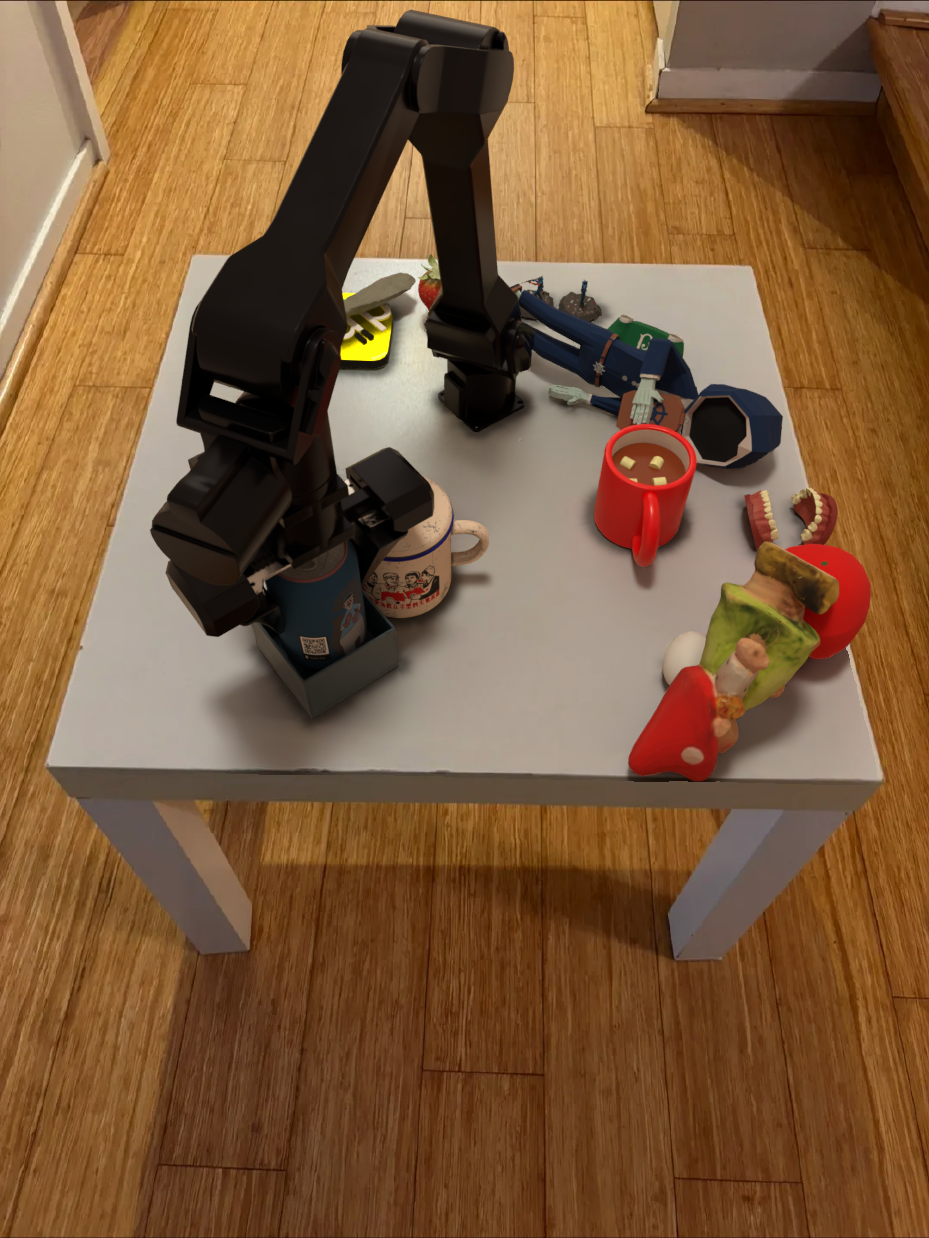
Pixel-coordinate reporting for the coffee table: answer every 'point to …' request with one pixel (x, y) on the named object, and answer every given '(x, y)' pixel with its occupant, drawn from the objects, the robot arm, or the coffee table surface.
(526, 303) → the figurine
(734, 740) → the figurine
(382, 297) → the stone
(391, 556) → the teacup with lid
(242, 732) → the coffee table surface
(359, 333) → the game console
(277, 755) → the coffee table surface
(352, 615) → the soda can
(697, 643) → the egg
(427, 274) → the fruit
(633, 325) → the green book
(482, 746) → the coffee table surface
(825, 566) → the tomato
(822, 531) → the dentures
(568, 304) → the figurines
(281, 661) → the bin
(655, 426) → the mug
